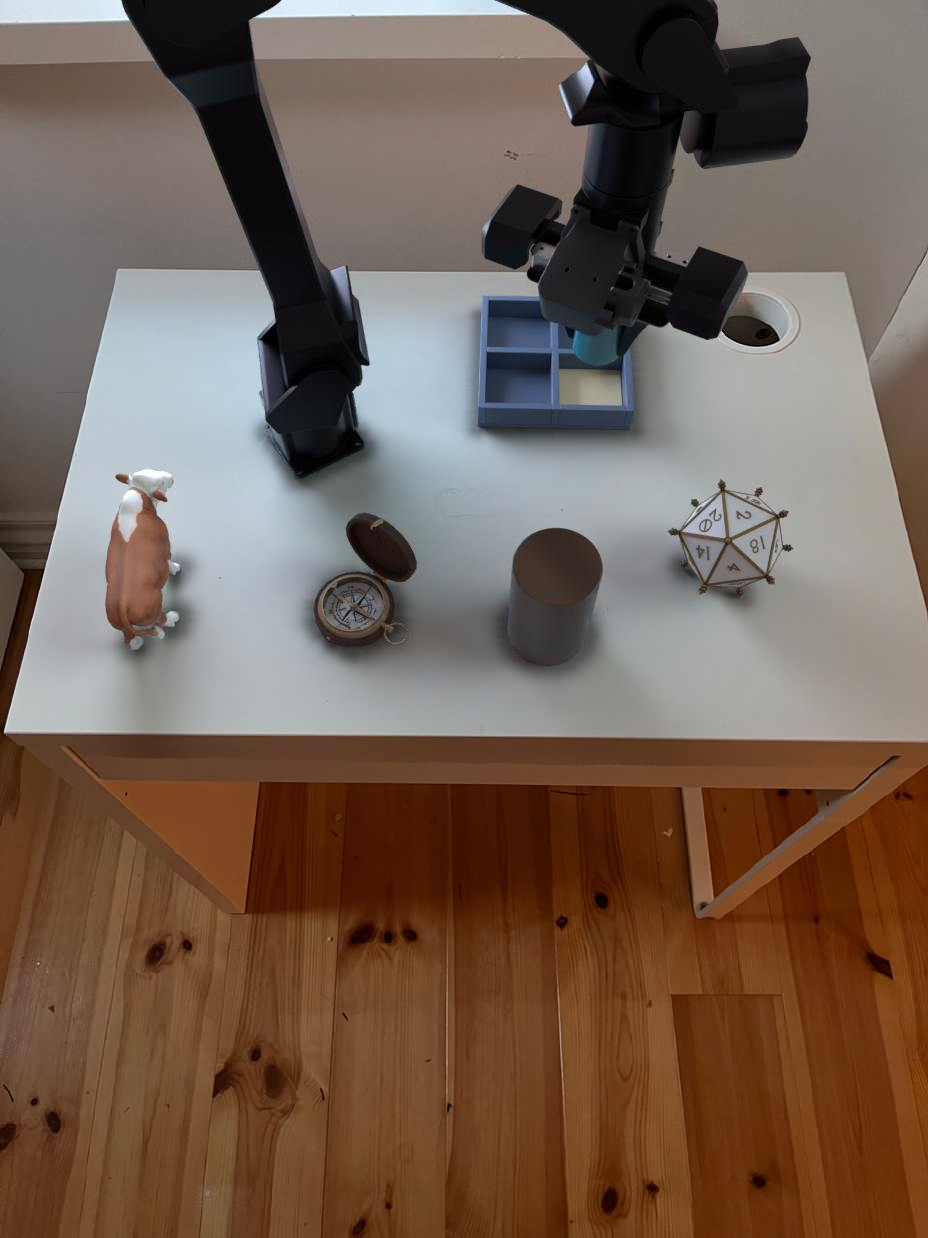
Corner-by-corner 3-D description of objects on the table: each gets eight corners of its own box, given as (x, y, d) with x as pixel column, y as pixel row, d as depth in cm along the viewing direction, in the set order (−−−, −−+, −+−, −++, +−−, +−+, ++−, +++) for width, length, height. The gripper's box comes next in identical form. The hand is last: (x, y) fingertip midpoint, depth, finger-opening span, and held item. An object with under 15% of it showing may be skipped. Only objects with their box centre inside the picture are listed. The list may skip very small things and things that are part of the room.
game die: (706, 611, 72) (695, 623, 63) (659, 517, 73) (641, 516, 64) (813, 561, 69) (818, 566, 60) (763, 464, 70) (760, 454, 61)
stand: (536, 679, 66) (545, 621, 57) (492, 618, 68) (495, 553, 60) (602, 640, 67) (621, 577, 59) (557, 581, 70) (568, 513, 61)
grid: (477, 426, 77) (478, 407, 75) (481, 315, 83) (482, 294, 80) (630, 429, 76) (634, 411, 74) (623, 317, 82) (627, 297, 80)
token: (591, 372, 71) (597, 335, 68) (562, 341, 73) (567, 303, 69) (631, 352, 72) (640, 314, 69) (602, 321, 74) (609, 283, 70)
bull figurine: (201, 514, 73) (171, 452, 66) (175, 665, 67) (139, 614, 59) (147, 514, 73) (111, 452, 66) (116, 665, 67) (73, 614, 59)
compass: (298, 622, 68) (279, 574, 62) (362, 549, 71) (350, 496, 65) (381, 677, 66) (371, 633, 60) (443, 599, 69) (440, 549, 63)
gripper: (442, 198, 57) (448, 370, 71) (718, 296, 53) (667, 458, 67) (519, 102, 62) (511, 281, 76) (779, 185, 58) (720, 359, 71)
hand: (597, 344), depth 72 cm, fingers closed on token, 4 cm apart
